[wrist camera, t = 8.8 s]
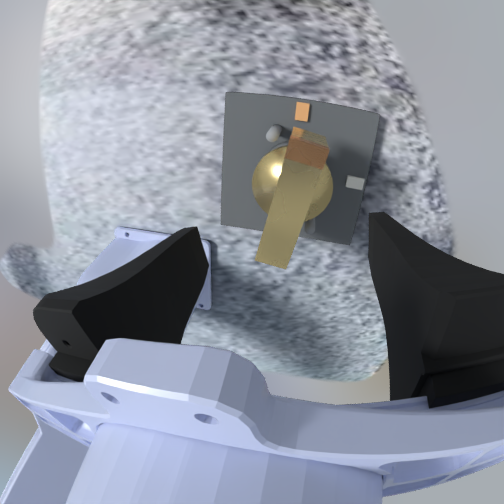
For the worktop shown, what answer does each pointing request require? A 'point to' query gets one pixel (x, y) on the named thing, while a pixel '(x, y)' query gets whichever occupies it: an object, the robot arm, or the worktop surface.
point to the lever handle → (291, 192)
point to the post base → (254, 145)
